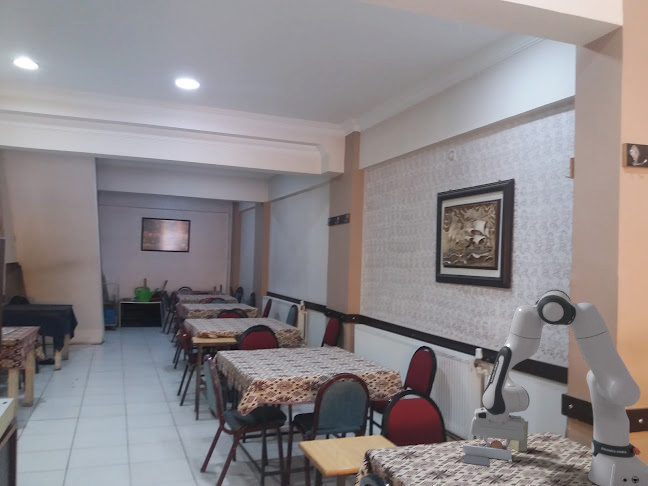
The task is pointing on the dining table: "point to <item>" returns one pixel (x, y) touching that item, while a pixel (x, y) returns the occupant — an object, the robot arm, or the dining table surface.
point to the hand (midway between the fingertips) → (496, 449)
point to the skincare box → (521, 444)
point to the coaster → (476, 460)
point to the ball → (496, 444)
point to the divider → (487, 452)
